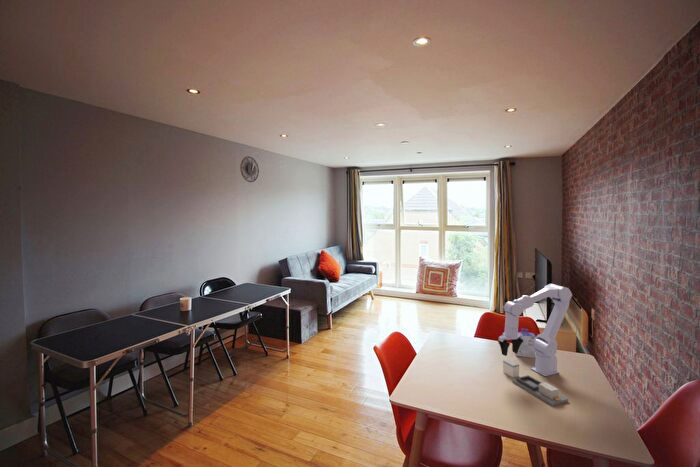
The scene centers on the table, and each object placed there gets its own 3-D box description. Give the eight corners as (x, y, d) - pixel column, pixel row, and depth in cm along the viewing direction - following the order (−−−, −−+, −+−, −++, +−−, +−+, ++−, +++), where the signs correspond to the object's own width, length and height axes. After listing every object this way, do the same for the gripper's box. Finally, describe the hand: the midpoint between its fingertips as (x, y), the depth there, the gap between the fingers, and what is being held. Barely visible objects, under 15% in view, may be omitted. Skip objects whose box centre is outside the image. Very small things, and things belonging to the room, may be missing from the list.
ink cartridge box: (533, 354, 176) (534, 328, 175) (535, 358, 171) (536, 332, 170) (513, 351, 179) (514, 327, 179) (515, 356, 174) (516, 330, 173)
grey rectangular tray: (526, 378, 150) (526, 369, 150) (568, 401, 132) (568, 391, 131) (512, 382, 147) (512, 372, 147) (552, 406, 129) (553, 395, 128)
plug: (509, 370, 158) (509, 359, 158) (519, 376, 153) (519, 364, 152) (502, 371, 157) (503, 360, 157) (512, 377, 151) (513, 365, 151)
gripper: (514, 322, 160) (512, 348, 161) (494, 325, 154) (492, 352, 154) (527, 327, 154) (525, 354, 154) (506, 330, 147) (504, 358, 148)
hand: (509, 353), depth 154 cm, fingers open, 7 cm apart
